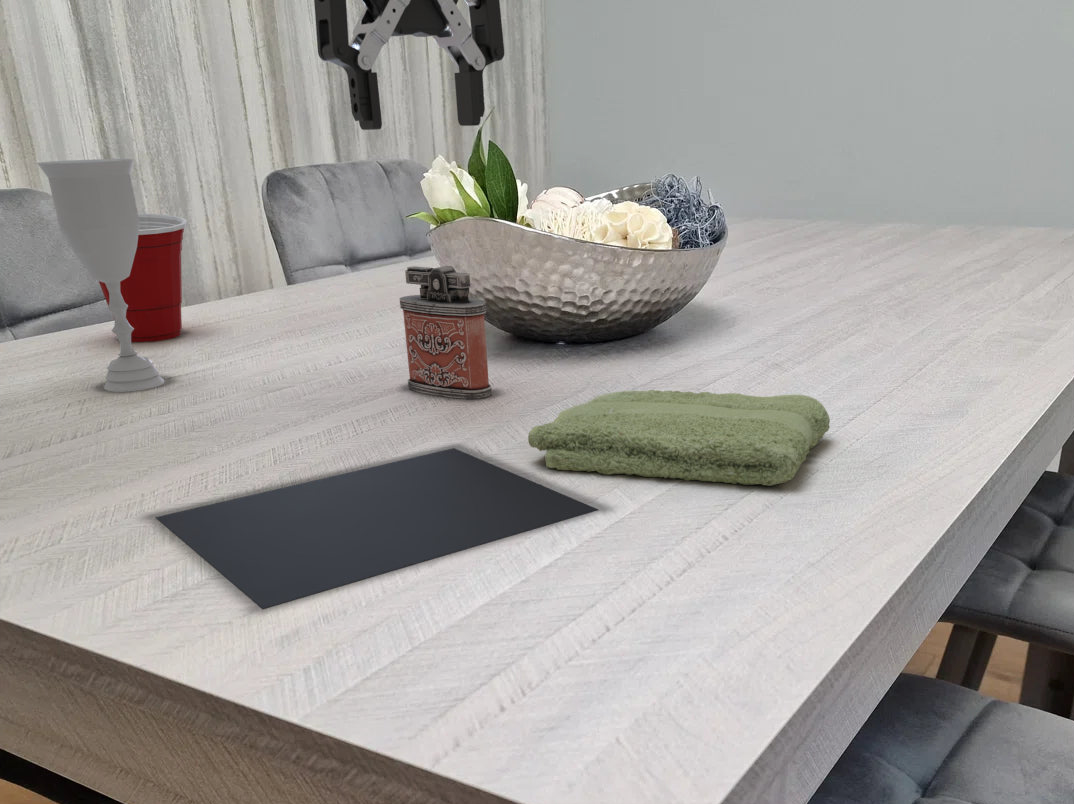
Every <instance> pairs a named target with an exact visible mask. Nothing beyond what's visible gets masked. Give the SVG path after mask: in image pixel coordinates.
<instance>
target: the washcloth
mask: <svg viewBox="0 0 1074 804" xmlns="http://www.w3.org/2000/svg"><path fill="white" fill-rule="evenodd" d="M830 420H831V418H830V416H829V413H828V411H827V409H826V408H825V406H824V405H823V403H822V402H820V401H819V400H818V399H816V398H814V397H812V396H810V395H807V394H806V395H805V394H794V393H793V394H781V395H769V396H767V395H765V396H760V395H759V396H755V395H748V394H743V393H742V394H741V393H736V392H729V393H727V392H726V393H715V392H714V393H712V392H709V391H701V392H698V393H697V392H693V391H684V392H683V391H680V390H674V391H672V390H663V391H662V390H657V389H656V390H655V389H649V390H622V391H621V390H620V391H615V392H609V393H604V394H601V395H598V396H596V397H594V398H592V399H591V400H588V401H587V402H584V403H580V404H576V405H573V406H572V407H568V408H566V409H564V410H561V411H560V412H559V413H558V415H557V417H556V418H555V419H554V420H553V421H552V422H548V423H543V424H542V425H536V426H533V427H532V428H531V429H530V430H529V431H528V436H527V437H528V438H527V441H528V442H527V443H528V445H529V446H530V447H531V448H535V449H537V450H539V452H542V451H546V452H545V459H544V460H545V466H546V467H547V468H549V469H556V470H557V471H558V470H560V471H572V472H578V471H579V472H583V471H585V472H588V473H590V472H597V473H599V474H603V475H617V474H619V475H627V476H629V475H635V476H639V477H644V478H660V479H661V478H664V479H665V480H666V479H667V478H668V479H680V480H684V481H686V482H687V481H688V482H689V481H700V482H712V483H717V482H718V483H725V484H733V485H736V484H739V485H745V486H746V485H747V486H748V485H749V486H751V485H762V486H769V487H770V486H775V485H778V484H783V483H787V482H789V481H792V480H793V479H794V478H795V475H796V474H797V472H798V471H799V470H800V467H801V465H802V464H803V463H804V461H806V459H807V455H808V454H810V452H811V451H810V450H811V449H812V448H814V447H815V446H816V445H817V444H819V440H820V439H822V438H824V436H825V435H826V433H828V432H829V430H830V428H831V427H830V424H831V423H830Z"/></svg>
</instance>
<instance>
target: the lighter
mask: <svg viewBox="0 0 1074 804" xmlns="http://www.w3.org/2000/svg"><path fill="white" fill-rule="evenodd" d="M404 274H405V283H406V284H408V285H418V286H420V287H419V294H412V295H405V296H402V297H401V296H400V297H399V307H400V310H402V315H403V322H404V324H403V325H404V336H405V344H406V353H407V364H408V374H409V378H408V379H407V386H408V387H407V388H408V390H409V391H412V392H414V393H415V392H416V393H419V394H424V395H428V396H433V397H439V398H448V399H457V400H466V401H467V400H469V401H470V400H471V401H475V400H478V401H479V400H484V399H487V398H490V397H492V394H493V392H492V385H491V384H490V383H489V365H488V351H487V339H486V338H487V335H486V324H485V314H486V313H487V303H486V300H480V299H474V298H469V295H470V288H471V287H472V286H471V274H470V273H469V272H458V271H456V268H455V267H453V266H452V265H444V266H438V267H430V266H429V267H428V266H414V265H413V266H407V267H406V269H405V270H404Z"/></svg>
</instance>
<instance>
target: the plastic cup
mask: <svg viewBox="0 0 1074 804" xmlns="http://www.w3.org/2000/svg"><path fill="white" fill-rule="evenodd" d="M138 217H139V222H140V226H139V234H138V243H137V249H136V253H135V257H134V260H133V264H132V268H131V272H130V276H129V277H127V278H126V279H124V280H122V281H120V292H121V295H122V297H123V300H124V302H125V303H126V304H127V305H128V308H127V310H126V319H127V321H128V323H129V325H130V326H132V327H133V328H134V330H133V331H132V332H131V343H147V342H148V343H149V342H151V343H152V342H159V341H166V340H170V339H175V338H177V337H180V336H181V335H182V328H183V324H182V322H183V321H182V303H183V287H182V286H183V285H182V284H183V283H182V281H183V280H182V278H183V277H182V250H183V239H184V231H185V228H186V227H187V225H188V219H185V218H183V217H182V216H175V215H171V214H161V213H160V214H159V213H158V214H157V213H138ZM98 283H99V286H100V289H101V292H102V294H103V296H104V300H105V302H106V305H107V307H108V306H109V291H108V289H107V287H106V284H105V283H104V282H100V281H98ZM112 317H113V319H114V321H115V318H114V316H113V315H112Z"/></svg>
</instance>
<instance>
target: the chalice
mask: <svg viewBox="0 0 1074 804" xmlns="http://www.w3.org/2000/svg"><path fill="white" fill-rule="evenodd" d="M134 160H135V159H134V158H100V159H73V160H72V159H71V160H55V161H42V162H37V165H38V167H40V169H41V170H42V171H43V173H44V175H45V176H46V177H47V180H48V184H49V188H50V192H51V197H52V200H53V205H54V209H55V215H56V219H57V223H58V227H59V230H60V231H61V233H62V235H63V237H64V239H65V241H66V242H67V244H68V246H69V248H70V249H71V250H72V252H73V253H74V255H75V256H76V258H77V259H78V261H79V262H80V263H81V265H82V266H83V267H84V268H85V270H86V271H87V273H88V274H89V275H90V276H91V278H92V279H93V280H95V281H97V282H99V281H100V282H104V283H105V284H106V287H107V289H108V291H109V306H108V305H107V309H108V310H109V311H110V312H111V314H112V317H113V316H114V317H113V319H114V318H115V320H114V326H113V327H112V329H111V332H112V333H114V334H115V335H116V337H117V340H118V342H119V346H120V347H119V348H120V349H119V353H118V354H117V356H118V357H117V358H116V359H113V360H111V361H110V362H109V365H108V366H107V370H108V371H107V373H106V375H105V380H106V382H105V384H104V386H103V388H104V390H106V391H108V392H114V393H115V392H117V393H121V392H122V393H123V392H124V393H125V392H136V391H137V392H138V391H143V390H150V389H153V388H157V387H159V386H162V385H163V384H164V383H165V380H164V378H162V376H161V375H160V371H159V370H158V369H157V368H156V367H155V366H154V362H153V361H152V360H151V359H149V358H148V357H146V356H141V355H139V352H138V351H136V350H135V348H134V346H133V342H131V332H132V331H133V330H134V328H133V327H132V326H130V325H129V323H128V321H127V319H126V310H127V308H128V305H127V304H126V303H125V302H124V300H123V297H122V295H121V292H120V281H122V280H124V279H126V278H127V277H129V276H130V272H131V268H132V264H133V260H134V257H135V253H136V249H137V243H138V234H139V226H140V222H139V217H138V214H139V212H138V208H137V203H136V198H135V197H136V196H135V193H134V189H133V184H132V177H131V172H132V169H133V164H134Z"/></svg>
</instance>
